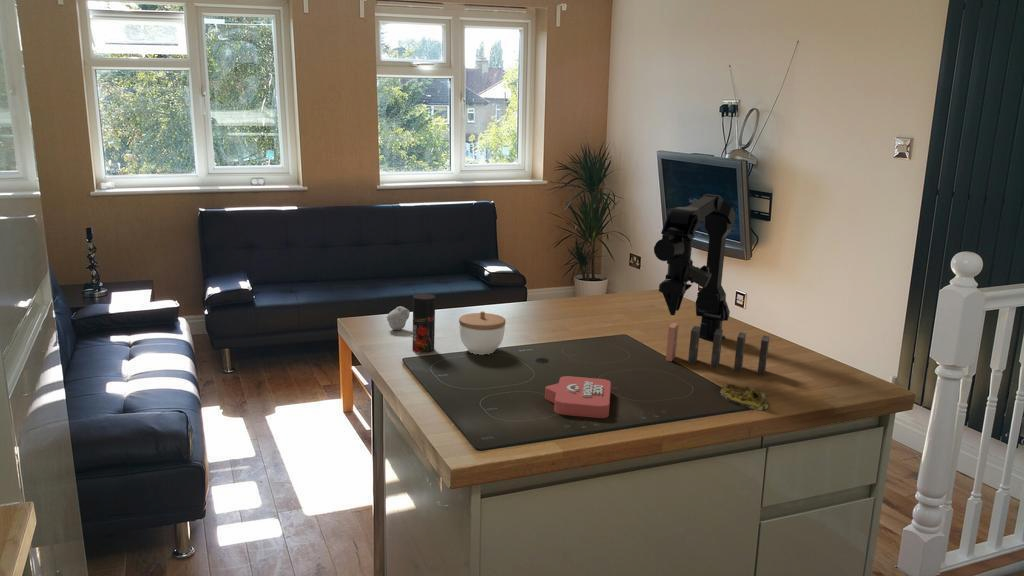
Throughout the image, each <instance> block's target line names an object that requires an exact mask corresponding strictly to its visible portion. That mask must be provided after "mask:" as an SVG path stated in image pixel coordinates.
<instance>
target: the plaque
mask: <svg viewBox="0 0 1024 576" xmlns="http://www.w3.org/2000/svg"><path fill="white" fill-rule="evenodd" d="M611 387H612V382H611V381H610V380H608V379H604V378H595V377H582V376H571V375H565V376H564V375H563V376H560V378H559V380H558V383H554V384H550V385H547V386H545V389H544V390H545V391H544V400H547V401H548V402H551V403H552V404H554V406H553V407H554V408H553V409H554V413H556V414H558V415H563V416H573V417H586V418H597V419H604V418H608V417H609V416H610V406H611V405H610V404H611V403H610V402H611V389H612V388H611Z"/></svg>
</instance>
